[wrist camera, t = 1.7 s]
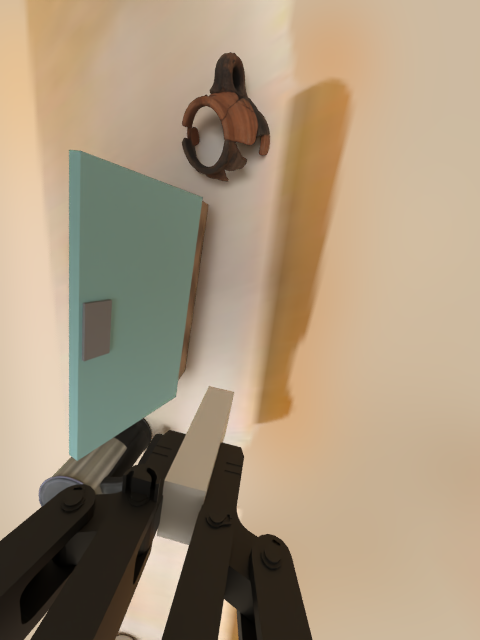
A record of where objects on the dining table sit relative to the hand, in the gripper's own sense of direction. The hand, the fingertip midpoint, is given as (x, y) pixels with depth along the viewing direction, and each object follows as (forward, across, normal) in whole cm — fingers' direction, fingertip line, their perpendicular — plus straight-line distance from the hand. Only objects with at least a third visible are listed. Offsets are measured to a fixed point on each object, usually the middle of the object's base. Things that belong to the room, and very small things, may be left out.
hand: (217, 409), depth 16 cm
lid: (+12, -11, 0) cm, 17 cm away
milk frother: (+26, -18, -24) cm, 39 cm away
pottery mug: (+26, -7, +22) cm, 35 cm away
